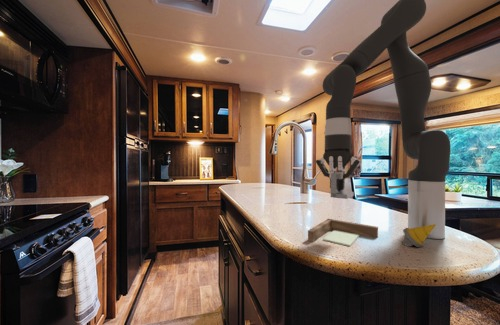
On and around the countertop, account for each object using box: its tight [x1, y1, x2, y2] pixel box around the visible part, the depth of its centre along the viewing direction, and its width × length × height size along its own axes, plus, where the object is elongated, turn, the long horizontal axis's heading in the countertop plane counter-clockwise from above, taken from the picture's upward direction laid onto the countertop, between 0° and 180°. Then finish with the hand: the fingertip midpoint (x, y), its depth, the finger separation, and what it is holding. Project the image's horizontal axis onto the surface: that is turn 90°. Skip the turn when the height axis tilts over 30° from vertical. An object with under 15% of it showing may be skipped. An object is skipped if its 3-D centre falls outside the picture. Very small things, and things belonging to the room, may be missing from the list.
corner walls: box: [307, 218, 379, 243], centre depth 65 cm, size 18×15×3 cm
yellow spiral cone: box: [402, 224, 436, 248], centre depth 59 cm, size 5×5×10 cm
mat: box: [322, 229, 360, 247], centre depth 65 cm, size 11×8×1 cm
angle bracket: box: [330, 172, 355, 200], centre depth 65 cm, size 8×4×7 cm, turn 142°
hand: (337, 191), depth 66 cm, fingers closed on angle bracket, 1 cm apart
